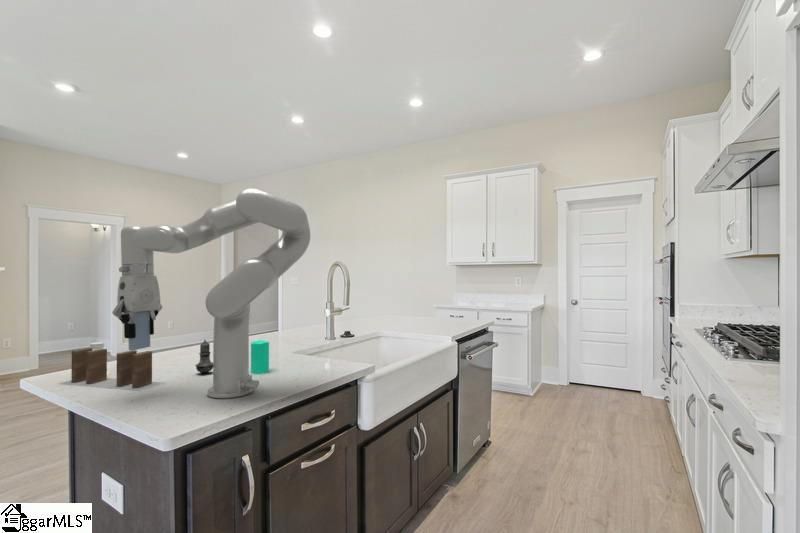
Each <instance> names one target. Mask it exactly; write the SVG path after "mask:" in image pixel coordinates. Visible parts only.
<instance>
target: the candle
mask: <svg viewBox="0 0 800 533" xmlns="http://www.w3.org/2000/svg"><path fill="white" fill-rule="evenodd" d="M268 371H269V372H270V341H266V340H262V339H259V340H254V341H251V342H250V373H251V375H263V374H262V373H264V374H267V373H269V372H268ZM266 372H267V373H266Z"/></svg>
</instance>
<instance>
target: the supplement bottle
mask: <svg viewBox="0 0 800 533" xmlns="http://www.w3.org/2000/svg"><path fill="white" fill-rule="evenodd" d="M89 348H93V350H98V349H107V348H106V347H105V343H104V342H103V341H101V342H100V341H99V342H98V341H97V342H92V343H91V342H90V343H89Z"/></svg>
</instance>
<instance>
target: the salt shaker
mask: <svg viewBox="0 0 800 533" xmlns="http://www.w3.org/2000/svg"><path fill="white" fill-rule="evenodd" d="M199 347H200V350H199V351H200V352H198V355H199V361H198V363H196V364H195V368H196V371H197V372H199V373H197V376H201V377H202V376H210V375H213V362H212V361H211V357H210V354H211V352H210V347H211V346H210V343H209V342H208V341H207V340H206V339H204V340H203V342H202V343H200V346H199ZM211 371H212V372H211Z"/></svg>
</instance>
